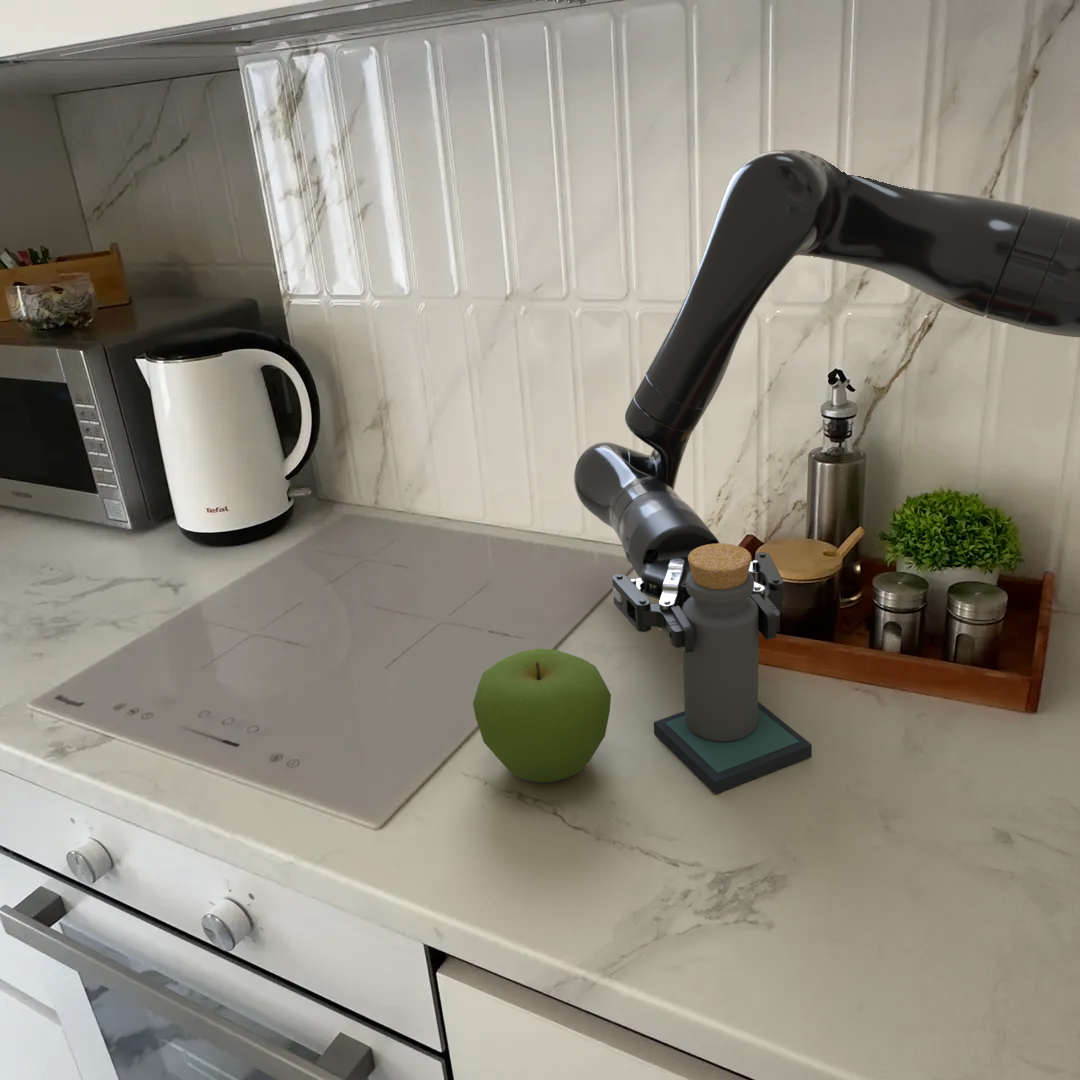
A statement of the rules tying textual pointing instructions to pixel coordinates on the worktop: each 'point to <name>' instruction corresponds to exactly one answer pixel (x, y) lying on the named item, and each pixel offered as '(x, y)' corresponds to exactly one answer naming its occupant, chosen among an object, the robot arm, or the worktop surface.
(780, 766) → the teal square coaster
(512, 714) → the apple
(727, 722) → the bottle
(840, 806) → the worktop surface
